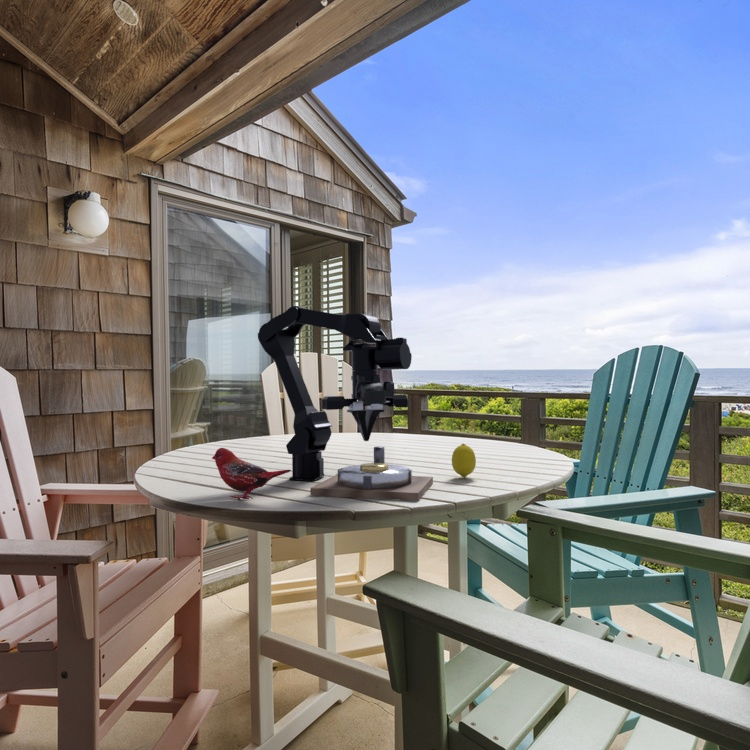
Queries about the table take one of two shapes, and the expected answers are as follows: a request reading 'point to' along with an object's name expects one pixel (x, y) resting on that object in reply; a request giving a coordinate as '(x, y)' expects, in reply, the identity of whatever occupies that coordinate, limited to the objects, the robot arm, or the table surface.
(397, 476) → the notched round platform
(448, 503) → the table surface
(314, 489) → the base plate
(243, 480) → the decorative bird figurine
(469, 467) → the lemon
